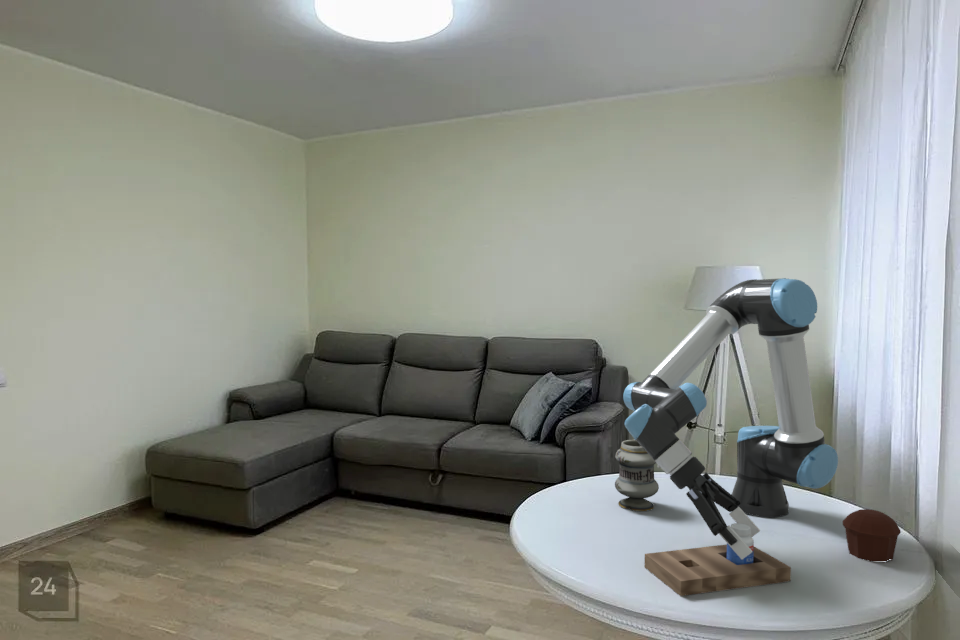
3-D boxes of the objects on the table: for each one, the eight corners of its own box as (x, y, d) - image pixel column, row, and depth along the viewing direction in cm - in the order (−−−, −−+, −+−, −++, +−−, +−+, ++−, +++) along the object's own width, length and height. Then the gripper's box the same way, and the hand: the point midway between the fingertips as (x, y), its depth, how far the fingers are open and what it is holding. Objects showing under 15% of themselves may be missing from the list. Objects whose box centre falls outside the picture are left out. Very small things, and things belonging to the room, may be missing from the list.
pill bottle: (750, 578, 136) (751, 532, 136) (723, 572, 139) (724, 527, 138) (755, 569, 141) (756, 524, 140) (729, 563, 144) (729, 520, 143)
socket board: (746, 555, 148) (746, 542, 148) (790, 581, 135) (790, 567, 135) (644, 567, 141) (644, 553, 141) (680, 596, 128) (680, 581, 128)
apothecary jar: (608, 507, 181) (609, 444, 180) (622, 496, 191) (623, 436, 191) (651, 515, 175) (651, 449, 174) (663, 503, 185) (664, 441, 184)
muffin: (866, 566, 142) (868, 521, 142) (830, 547, 153) (831, 505, 153) (912, 562, 145) (913, 518, 144) (873, 543, 155) (874, 502, 155)
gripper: (681, 463, 157) (745, 535, 151) (654, 489, 136) (728, 575, 129) (704, 444, 155) (771, 517, 148) (680, 468, 133) (758, 555, 126)
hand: (751, 544), depth 138 cm, fingers open, 13 cm apart
